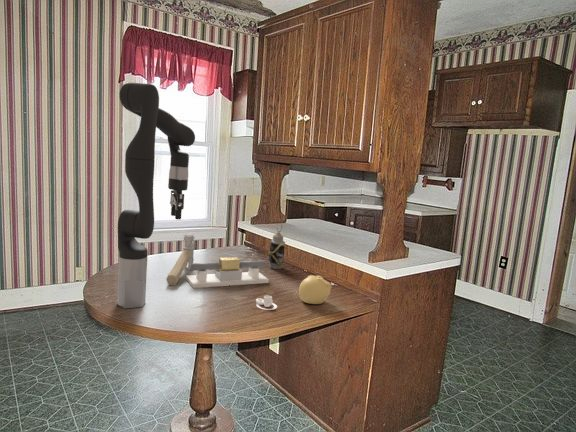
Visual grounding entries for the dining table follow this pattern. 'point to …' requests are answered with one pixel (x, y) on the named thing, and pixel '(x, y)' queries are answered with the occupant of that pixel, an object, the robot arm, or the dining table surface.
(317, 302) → the tan round ball
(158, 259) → the dining table surface
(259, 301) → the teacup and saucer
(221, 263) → the gold rectangular block
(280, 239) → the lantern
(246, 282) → the shaft rig
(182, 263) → the hammer
